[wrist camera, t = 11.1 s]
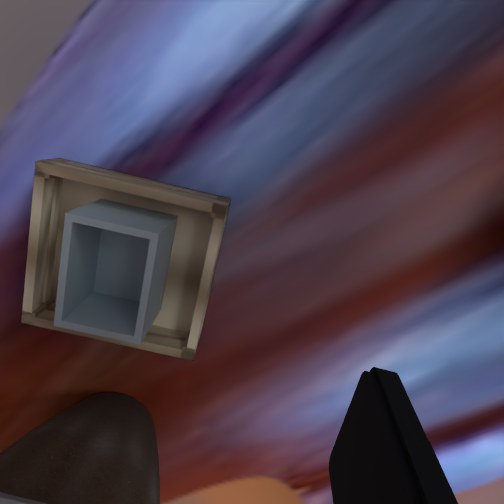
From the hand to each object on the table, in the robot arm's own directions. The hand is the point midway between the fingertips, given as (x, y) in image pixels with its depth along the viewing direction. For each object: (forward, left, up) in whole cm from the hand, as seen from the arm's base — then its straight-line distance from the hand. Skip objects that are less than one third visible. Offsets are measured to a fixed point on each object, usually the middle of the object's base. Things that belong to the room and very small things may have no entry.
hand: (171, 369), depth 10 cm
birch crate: (+5, -7, -23) cm, 25 cm away
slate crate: (+5, -7, -23) cm, 24 cm away
